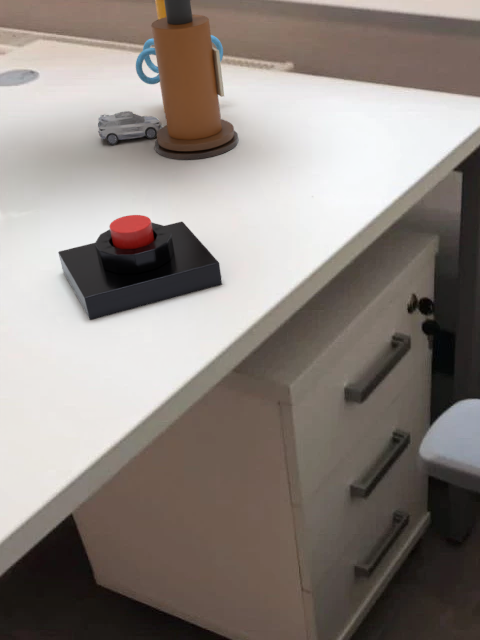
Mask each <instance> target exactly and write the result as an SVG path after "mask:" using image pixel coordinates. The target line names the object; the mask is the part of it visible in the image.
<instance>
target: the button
mask: <svg viewBox="0 0 480 640" xmlns="http://www.w3.org/2000/svg"><path fill="white" fill-rule="evenodd" d="M151 222H152V220H151V218H150V217H149V216H147V215H140V214H129V215H125V216H120V217H118V218H116V219H114V220H113V221H112V222H111V223H110V224H109V229H110V232H111V236H112V241H113V245H114V247H116V248H119V249H135V248H139V247H143V246H147V245H148V244H150V243H152V242H153V241H154V235H153V229H152V224H151Z"/></svg>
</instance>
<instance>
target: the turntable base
mask: <svg viewBox="0 0 480 640" xmlns="http://www.w3.org/2000/svg"><path fill="white" fill-rule="evenodd" d="M238 143H239V135H238V133H237V131H235V130H234V137H233V138H232V139H231V140H230V141H229V142H227V143H225V144H223V145H220V146H218V147H214V148H211V149H206V150H200V151H174V150H169V149H165V148H163V147H161V146H160V145H159V144H158V141H157V138H156V139H155V141H154V148H155V149H154V150H155V151H156V153H157V154H159V156H162V157H165V158H169V159H172V160H173V159H174V160H200V159H206V158H213V157H216V156H219V155H222V154H225V153H227V152H229V151H231V150H232V149H234V148H235V147H236V146H237V145H238Z"/></svg>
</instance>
